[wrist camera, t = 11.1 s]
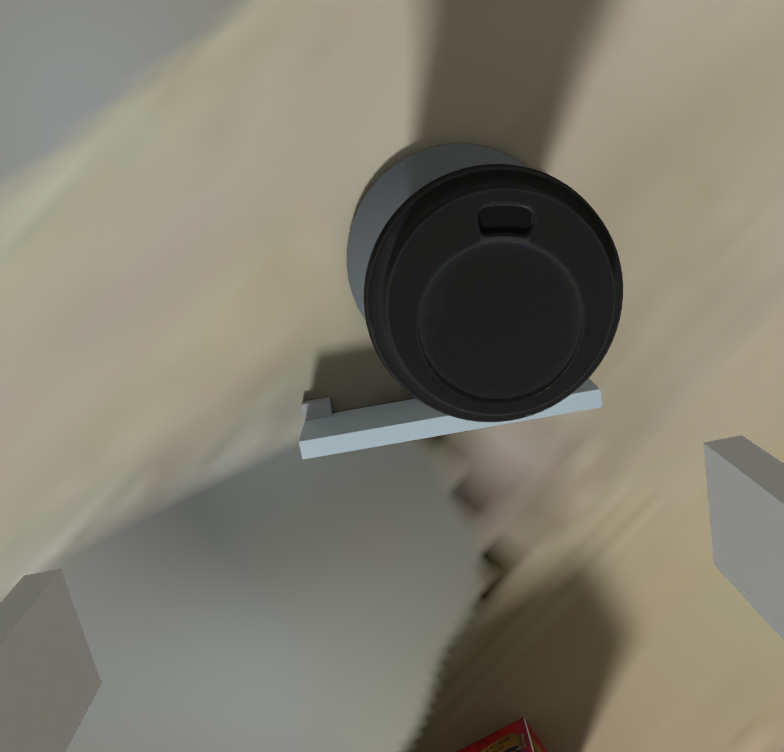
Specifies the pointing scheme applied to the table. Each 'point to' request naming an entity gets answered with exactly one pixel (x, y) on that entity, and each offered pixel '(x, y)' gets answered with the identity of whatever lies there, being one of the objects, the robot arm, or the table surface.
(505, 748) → the ice cream box
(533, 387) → the coffee cup
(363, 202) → the coaster
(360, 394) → the table surface
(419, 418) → the grey bar handle
